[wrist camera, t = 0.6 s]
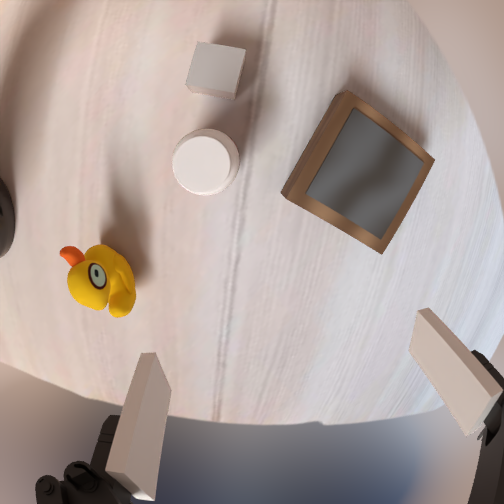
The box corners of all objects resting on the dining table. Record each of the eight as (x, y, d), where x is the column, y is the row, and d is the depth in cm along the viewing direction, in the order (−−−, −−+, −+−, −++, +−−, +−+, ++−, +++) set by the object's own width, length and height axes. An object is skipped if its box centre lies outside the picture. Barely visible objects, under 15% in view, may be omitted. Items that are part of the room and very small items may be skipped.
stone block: (192, 92, 30) (185, 84, 25) (202, 54, 28) (197, 41, 23) (234, 100, 30) (234, 92, 26) (244, 62, 29) (246, 49, 24)
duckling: (79, 235, 35) (40, 264, 25) (107, 217, 34) (69, 243, 25) (122, 303, 39) (97, 345, 29) (151, 289, 38) (129, 332, 29)
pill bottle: (196, 124, 31) (178, 115, 21) (246, 141, 32) (251, 140, 22) (178, 174, 33) (154, 188, 23) (228, 190, 34) (224, 212, 24)
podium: (280, 192, 34) (286, 199, 30) (335, 95, 30) (348, 89, 26) (369, 243, 37) (382, 255, 33) (418, 157, 33) (436, 160, 29)
